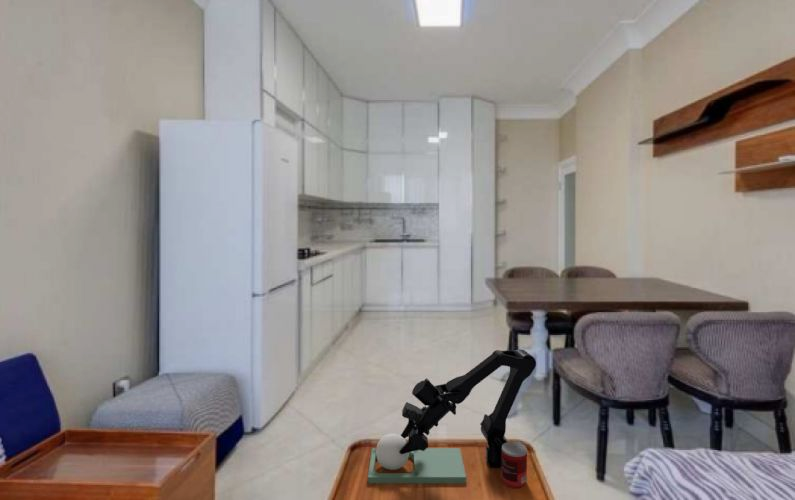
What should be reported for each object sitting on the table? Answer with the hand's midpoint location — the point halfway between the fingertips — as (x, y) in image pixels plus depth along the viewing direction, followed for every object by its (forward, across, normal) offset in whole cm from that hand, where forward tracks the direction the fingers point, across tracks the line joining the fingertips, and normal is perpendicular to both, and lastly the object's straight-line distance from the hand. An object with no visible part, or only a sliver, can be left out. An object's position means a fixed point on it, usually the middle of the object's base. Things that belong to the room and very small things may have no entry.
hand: (400, 445), depth 150 cm
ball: (+3, 0, 0) cm, 3 cm away
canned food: (-20, +8, +31) cm, 37 cm away
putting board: (+2, 0, +9) cm, 9 cm away
